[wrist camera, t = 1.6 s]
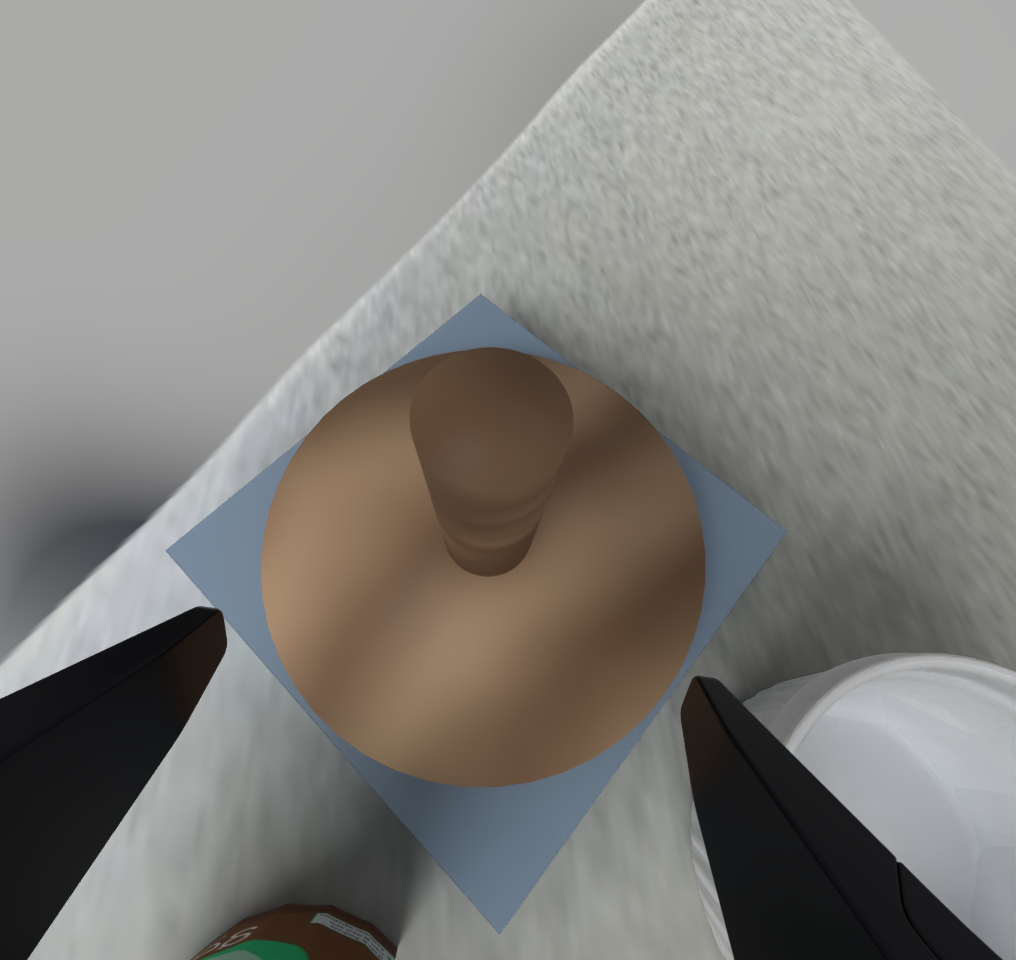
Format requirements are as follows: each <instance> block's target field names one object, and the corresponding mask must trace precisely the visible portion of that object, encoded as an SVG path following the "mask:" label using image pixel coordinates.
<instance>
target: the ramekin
mask: <svg viewBox="0 0 1016 960" xmlns="http://www.w3.org/2000/svg"><path fill="white" fill-rule="evenodd" d="M742 704H743V705H744V706H745V707H746V708H747V709H748V710H749V711H750V712H751V713H752V714H753V715H754V716H755V717H756V718H757V719H758V720H759V721H760V722H761V723H762V724H763V725H764V726H765V727H766V728H767V729H768V730H769V731H770V732H771V733H772V734H773V735H774V736H775V737H776V738H777V739H778V740H779V741H780V742H781V743H782V744H783V745H784V746H785V747H786V748H787V749H788V750H789V751H790V752H791V753H792V754H793V755H794V756H795V757H796V758H797V759H798V760H799V761H800V762H801V763H802V764H803V765H804V766H805V767H806V768H807V769H808V770H809V771H810V772H811V773H812V774H813V775H814V776H815V777H816V778H817V779H818V780H819V781H820V782H821V783H822V784H823V785H824V786H825V787H826V788H827V789H828V790H829V791H830V792H831V793H832V794H833V795H834V796H835V797H836V798H837V799H838V800H839V801H840V802H841V803H842V804H843V805H844V806H845V807H846V808H847V809H848V810H849V811H850V812H851V813H852V814H853V815H854V816H855V817H856V818H857V819H858V820H859V821H860V822H861V823H862V824H863V825H864V826H865V827H866V828H867V829H868V830H869V831H870V832H871V833H872V834H873V835H874V836H875V837H876V838H877V839H878V840H879V841H880V842H881V843H882V844H883V845H884V846H885V847H886V848H887V849H888V850H889V851H890V852H891V853H892V854H893V855H894V856H895V857H896V859H897V862H901V863H903V864H904V865H905V866H906V867H907V868H908V869H909V870H910V871H911V872H912V873H913V874H914V875H915V876H916V877H917V878H918V879H919V880H920V881H921V882H922V883H923V884H924V885H925V886H926V887H927V888H928V889H929V890H930V891H931V892H932V893H933V894H934V895H935V896H936V897H937V898H938V899H939V900H940V901H941V902H942V903H943V904H944V905H945V906H946V907H947V908H948V909H949V910H950V911H952V912H953V913H954V914H955V915H956V916H957V917H958V918H959V919H960V920H961V921H962V922H963V923H964V924H965V925H966V926H967V927H968V928H969V929H970V930H971V931H972V932H973V933H975V934H976V935H977V936H978V937H979V938H980V939H981V940H982V941H983V942H984V943H985V944H986V945H988V946H989V947H990V948H991V949H992V950H993V951H994V952H995V953H996V954H997V955H998V956H999V957H1001V958H1002V959H1003V960H1016V671H1015V670H1013V669H1010V668H1007V667H1004V666H1001V665H998V664H995V663H992V662H989V661H985V660H982V659H977V658H973V657H968V656H962V655H956V654H948V653H887V654H879V655H873V656H868V657H863V658H859V659H856V660H853V661H850V662H847V663H844V664H841V665H838V666H836V667H834V668H832V669H830V670H827V671H825V672H820V673H815V674H811V675H807V676H803V677H799V678H796V679H791V680H787V681H784V682H780V683H777V684H775V685H773V686H772V687H771V688H768V689H765V690H762V691H760V692H758V693H757V694H756V695H755V696H754V697H753V698H750V699H748V700H746V701H744V702H743V703H742ZM691 813H692V822H691V829H690V834H691V840H692V859H693V863H694V867H695V873H696V882H697V886H698V890H699V892H700V894H701V897H702V902H703V906H704V911H705V914H706V917H707V919H708V921H709V923H710V925H711V927H712V931H713V934H714V937H715V940H716V942H717V945H718V947H719V949H720V951H721V952H722V954H723V956H724V958H725V960H734V958H733V954H732V950H731V946H730V942H729V938H728V934H727V930H726V927H725V923H724V919H723V915H722V911H721V907H720V903H719V899H718V896H717V892H716V888H715V884H714V880H713V876H712V872H711V868H710V865H709V861H708V857H707V853H706V849H705V845H704V841H703V837H702V834H701V830H700V826H699V822H698V818H697V814H696V809H695V805H694V800H693V801H692V805H691Z"/></svg>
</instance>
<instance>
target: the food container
mask: <svg viewBox="0 0 1016 960" xmlns="http://www.w3.org/2000/svg"><path fill="white" fill-rule="evenodd" d="M396 952H397V947H396V946H395V945H393V944H392V943H391V942H390V941H389V940H388V939H387V938H386V937H385V936H384V935H383V934H382V933H381V932H380V931H379V930H378V929H377V928H376V927H375V926H374V925H373V924H371V923H369V922H367V921H365V920H363V919H360V918H358V917H356V916H354V915H352V914H349V913H347V912H345V911H343V910H341V909H338V908H336V907H334V906H332V905H305V904H286V905H283V906H280V907H278V908H275V909H272V910H269V911H266V912H263V913H260V914H258V915H255V916H252V917H249V918H246V919H243V920H242V921H241V922H239V923H238V924H237V925H235V926H234V927H232V928H231V929H230V930H228V931H227V932H226V933H224V934H223V935H221V936H220V937H219V938H217V939H216V940H215V941H213V942H212V943H210V944H209V945H208V946H207V947H206V948H204V949H203V950H202V951H201V952H200V953H198V954H197V955H196V956H195V957H194V958H192V959H191V960H395V957H396Z"/></svg>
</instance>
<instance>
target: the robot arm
mask: <svg viewBox="0 0 1016 960" xmlns="http://www.w3.org/2000/svg"><path fill="white" fill-rule="evenodd" d="M226 648H227V637H226V630H225V623H224V616H223V613H222V611H221V610H219V609H217V608H210V607H203V606H198V607H195V608H193V609H190V610H188V611H186V612H184V613H182V614H180V615H178V616H176V617H173V618H171V619H169V620H167V621H165V622H163V623H161V624H159V625H156V626H154V627H152V628H150V629H148V630H146V631H144V632H142V633H139V634H137V635H135V636H133V637H131V638H129V639H127V640H125V641H122V642H120V643H118V644H116V645H114V646H112V647H110V648H108V649H105V650H103V651H101V652H99V653H97V654H95V655H93V656H91V657H88V658H86V659H84V660H82V661H80V662H78V663H76V664H74V665H71V666H69V667H67V668H65V669H63V670H61V671H59V672H57V673H54V674H52V675H50V676H48V677H46V678H44V679H42V680H39V681H37V682H35V683H33V684H31V685H29V686H27V687H25V688H22V689H20V690H18V691H16V692H14V693H12V694H10V695H8V696H5V697H3V698H1V699H0V960H27V959H28V958H29V956H30V955H31V953H32V952H33V950H34V949H35V947H36V946H37V944H38V943H39V941H40V940H41V939H42V937H43V936H44V934H45V933H46V931H47V930H48V928H49V927H50V925H51V924H52V922H53V921H54V919H55V918H56V916H57V915H58V914H59V912H60V911H61V909H62V908H63V906H64V905H65V903H66V902H67V900H68V899H69V897H70V896H71V894H72V893H73V891H74V890H75V888H76V887H77V886H78V884H79V883H80V881H81V880H82V878H83V877H84V875H85V874H86V872H87V871H88V869H89V868H90V866H91V865H92V863H93V862H94V861H95V859H96V858H97V856H98V855H99V853H100V852H101V850H102V849H103V847H104V846H105V844H106V843H107V841H108V840H109V838H110V837H111V836H112V834H113V833H114V831H115V830H116V828H117V827H118V825H119V824H120V822H121V821H122V819H123V818H124V816H125V815H126V813H127V812H128V810H129V809H130V808H131V806H132V805H133V803H134V802H135V800H136V799H137V797H138V796H139V794H140V793H141V791H142V790H143V788H144V787H145V785H146V784H147V783H148V781H149V780H150V778H151V777H152V775H153V774H154V772H155V771H156V769H157V768H158V766H159V765H160V763H161V762H162V760H163V759H164V758H165V756H166V755H167V753H168V752H169V750H170V749H171V747H172V746H173V744H174V743H175V741H176V740H177V738H178V737H179V735H180V733H181V732H182V730H183V728H184V727H185V725H186V723H187V722H188V720H189V718H190V716H191V714H192V713H193V711H194V709H195V707H196V705H197V704H198V702H199V700H200V698H201V696H202V694H203V693H204V691H205V689H206V687H207V685H208V683H209V682H210V680H211V678H212V676H213V674H214V673H215V671H216V669H217V667H218V665H219V663H220V662H221V660H222V658H223V656H224V654H225V651H226ZM681 723H682V729H683V736H684V742H685V749H686V755H687V762H688V768H689V775H690V782H691V788H692V794H693V800H694V805H695V809H696V814H697V818H698V822H699V826H700V830H701V834H702V837H703V841H704V845H705V849H706V853H707V857H708V861H709V865H710V868H711V872H712V876H713V880H714V884H715V888H716V892H717V896H718V899H719V903H720V907H721V911H722V915H723V919H724V923H725V927H726V930H727V934H728V938H729V942H730V946H731V950H732V954H733V958H734V960H1003V959H1002V958H1001V957H999V956H998V955H997V954H996V953H995V952H994V951H993V950H992V949H991V948H990V947H989V946H988V945H986V944H985V943H984V942H983V941H982V940H981V939H980V938H979V937H978V936H977V935H976V934H975V933H973V932H972V931H971V930H970V929H969V928H968V927H967V926H966V925H965V924H964V923H963V922H962V921H961V920H960V919H959V918H958V917H957V916H956V915H955V914H954V913H953V912H952V911H950V910H949V909H948V908H947V907H946V906H945V905H944V904H943V903H942V902H941V901H940V900H939V899H938V898H937V897H936V896H935V895H934V894H933V893H932V892H931V891H930V890H929V889H928V888H927V887H926V886H925V885H924V884H923V883H922V882H921V881H920V880H919V879H918V878H917V877H916V876H915V875H914V874H913V873H912V872H911V871H910V870H909V869H908V868H907V867H906V866H905V865H904V864H903V863H901V862H897V859H896V857H895V856H894V855H893V854H892V853H891V852H890V851H889V850H888V849H887V848H886V847H885V846H884V845H883V844H882V843H881V842H880V841H879V840H878V839H877V838H876V837H875V836H874V835H873V834H872V833H871V832H870V831H869V830H868V829H867V828H866V827H865V826H864V825H863V824H862V823H861V822H860V821H859V820H858V819H857V818H856V817H855V816H854V815H853V814H852V813H851V812H850V811H849V810H848V809H847V808H846V807H845V806H844V805H843V804H842V803H841V802H840V801H839V800H838V799H837V798H836V797H835V796H834V795H833V794H832V793H831V792H830V791H829V790H828V789H827V788H826V787H825V786H824V785H823V784H822V783H821V782H820V781H819V780H818V779H817V778H816V777H815V776H814V775H813V774H812V773H811V772H810V771H809V770H808V769H807V768H806V767H805V766H804V765H803V764H802V763H801V762H800V761H799V760H798V759H797V758H796V757H795V756H794V755H793V754H792V753H791V752H790V751H789V750H788V749H787V748H786V747H785V746H784V745H783V744H782V743H781V742H780V741H779V740H778V739H777V738H776V737H775V736H774V735H773V734H772V733H771V732H770V731H769V730H768V729H767V728H766V727H765V726H764V725H763V724H762V723H761V722H760V721H759V720H758V719H757V718H756V717H755V716H754V715H753V714H752V713H751V712H750V711H749V710H748V709H747V708H746V707H745V706H744V705H743V704H742V703H741V702H740V701H739V700H738V699H737V698H736V697H735V696H734V695H733V694H732V693H731V692H730V691H729V690H728V689H727V688H726V687H725V686H724V685H723V684H722V683H721V682H720V681H719V680H717V679H715V678H709V677H702V676H695V677H694V678H693V679H692V681H691V683H690V686H689V688H688V691H687V694H686V696H685V699H684V701H683V704H682V707H681Z"/></svg>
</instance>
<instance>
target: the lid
mask: <svg viewBox="0 0 1016 960" xmlns="http://www.w3.org/2000/svg"><path fill="white" fill-rule="evenodd" d="M261 582H262V598H263V603H264V608H265V613H266V618H267V622H268V627H269V631H270V633H271V636H272V639H273V642H274V644H275V647H276V650H277V653H278V655H279V658H280V660H281V662H282V664H283V665H284V667H285V669H286V671H287V673H288V675H289V677H290V678H291V680H292V682H293V684H294V686H295V687H296V689H297V690H298V691H299V693H300V694H301V695H302V697H303V698H304V699H305V701H306V702H307V703H308V705H309V706H310V707H311V709H312V710H313V711H314V712H315V713H316V714H317V715H318V716H319V717H320V718H321V719H322V720H323V721H324V722H325V723H326V724H327V725H328V726H329V727H330V728H331V729H332V730H333V731H334V732H335V733H336V734H337V735H338V736H340V737H341V738H342V739H344V740H345V741H346V742H348V743H349V744H351V745H352V746H353V747H355V748H356V749H358V750H359V751H360V752H362V753H363V754H364V755H366V756H368V757H370V758H372V759H374V760H376V761H378V762H380V763H382V764H384V765H386V766H388V767H390V768H392V769H394V770H396V771H399V772H402V773H405V774H408V775H411V776H414V777H417V778H420V779H423V780H426V781H431V782H436V783H442V784H448V785H454V786H460V787H501V786H508V785H516V784H523V783H530V782H533V781H537V780H540V779H543V778H547V777H550V776H554V775H557V774H560V773H563V772H565V771H567V770H570V769H572V768H574V767H576V766H578V765H580V764H582V763H585V762H587V761H589V760H591V759H593V758H594V757H596V756H598V755H599V754H601V753H602V752H604V751H605V750H607V749H608V748H610V747H611V746H613V745H614V744H616V743H617V742H619V741H620V740H621V739H622V738H624V737H625V736H626V735H627V734H628V733H629V732H630V731H631V730H632V729H634V728H635V727H636V726H637V725H638V724H639V723H640V722H641V721H642V720H644V719H645V717H646V716H647V715H648V714H649V713H650V711H651V710H652V709H653V708H654V707H655V705H656V704H657V703H658V702H659V701H660V699H661V698H662V697H663V696H664V695H665V693H666V692H667V690H668V688H669V687H670V685H671V683H672V682H673V680H674V679H675V677H676V675H677V674H678V672H679V670H680V669H681V667H682V665H683V662H684V660H685V658H686V655H687V653H688V651H689V649H690V646H691V644H692V642H693V639H694V636H695V632H696V628H697V625H698V621H699V618H700V614H701V610H702V603H703V595H704V588H705V547H704V539H703V531H702V525H701V521H700V517H699V513H698V509H697V506H696V502H695V499H694V496H693V494H692V491H691V489H690V486H689V484H688V481H687V479H686V476H685V474H684V472H683V470H682V469H681V467H680V465H679V463H678V461H677V459H676V458H675V456H674V454H673V452H672V451H671V449H670V448H669V447H668V445H667V444H666V442H665V441H664V440H663V438H662V437H661V435H660V434H659V433H658V431H657V430H656V429H655V428H654V427H653V426H652V425H651V424H650V422H649V421H648V420H647V419H646V418H645V417H644V416H643V415H642V414H641V413H640V412H639V411H638V410H637V409H636V408H635V407H633V406H632V405H631V404H630V403H629V402H628V401H627V400H625V399H624V398H623V397H622V396H621V395H619V394H618V393H616V392H615V391H613V390H612V389H610V388H609V387H608V386H606V385H605V384H603V383H602V382H600V381H598V380H596V379H594V378H593V377H591V376H589V375H587V374H585V373H583V372H581V371H579V370H577V369H575V368H572V367H570V366H567V365H565V364H562V363H559V362H557V361H554V360H550V359H546V358H543V357H539V356H535V355H532V354H525V353H521V352H519V351H515V350H511V349H506V348H498V347H483V348H475V349H470V350H466V351H456V352H450V353H444V354H438V355H433V356H429V357H426V358H423V359H419V360H416V361H412V362H409V363H407V364H404V365H402V366H399V367H397V368H395V369H392V370H390V371H387V372H385V373H383V374H382V375H380V376H378V377H376V378H374V379H373V380H371V381H369V382H367V383H365V384H364V385H362V386H361V387H359V388H358V389H357V390H355V391H354V392H352V393H351V394H350V395H348V396H347V397H345V398H344V399H343V400H342V401H340V402H339V403H338V404H337V405H336V406H335V407H334V408H333V409H332V410H331V411H329V412H328V413H327V414H326V415H325V416H324V417H323V418H322V419H321V420H320V422H319V423H318V424H317V425H316V426H315V427H314V428H313V430H312V431H311V432H310V433H309V434H308V435H307V437H306V438H305V439H304V441H303V442H302V444H301V445H300V447H299V448H298V450H297V451H296V453H295V454H294V456H293V457H292V459H291V460H290V462H289V464H288V466H287V468H286V470H285V472H284V474H283V476H282V478H281V480H280V482H279V484H278V486H277V489H276V492H275V495H274V498H273V501H272V503H271V506H270V509H269V512H268V517H267V522H266V527H265V531H264V536H263V543H262V557H261Z"/></svg>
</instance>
